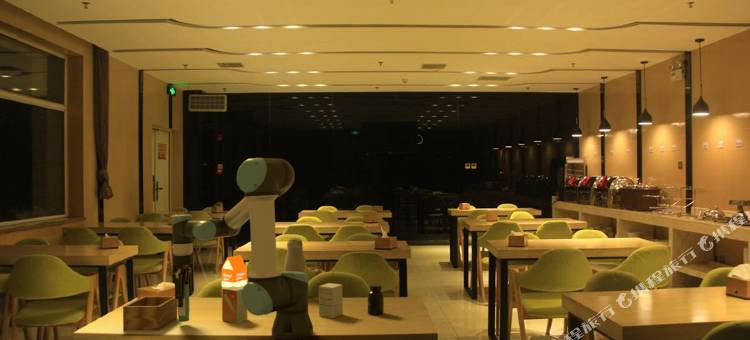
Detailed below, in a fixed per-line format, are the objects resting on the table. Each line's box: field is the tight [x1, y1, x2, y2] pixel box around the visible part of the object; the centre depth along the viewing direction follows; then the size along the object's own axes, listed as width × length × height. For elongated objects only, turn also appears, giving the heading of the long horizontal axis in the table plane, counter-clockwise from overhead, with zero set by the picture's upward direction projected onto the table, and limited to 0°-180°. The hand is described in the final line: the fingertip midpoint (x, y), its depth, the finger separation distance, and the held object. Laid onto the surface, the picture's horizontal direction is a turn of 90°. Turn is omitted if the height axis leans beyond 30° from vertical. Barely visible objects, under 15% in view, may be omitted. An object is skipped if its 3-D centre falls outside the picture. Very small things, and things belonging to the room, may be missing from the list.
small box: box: [221, 286, 248, 324], centre depth 235 cm, size 8×6×13 cm
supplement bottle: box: [367, 283, 385, 316], centre depth 244 cm, size 7×7×12 cm
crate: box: [122, 295, 178, 331], centre depth 229 cm, size 14×18×9 cm
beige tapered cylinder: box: [283, 237, 307, 274], centre depth 278 cm, size 10×10×28 cm
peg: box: [177, 284, 190, 323], centre depth 227 cm, size 4×4×14 cm
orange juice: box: [221, 254, 248, 290], centre depth 275 cm, size 8×9×20 cm
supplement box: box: [318, 282, 344, 319], centre depth 241 cm, size 7×7×13 cm
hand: (183, 313), depth 227 cm, fingers closed on peg, 4 cm apart
